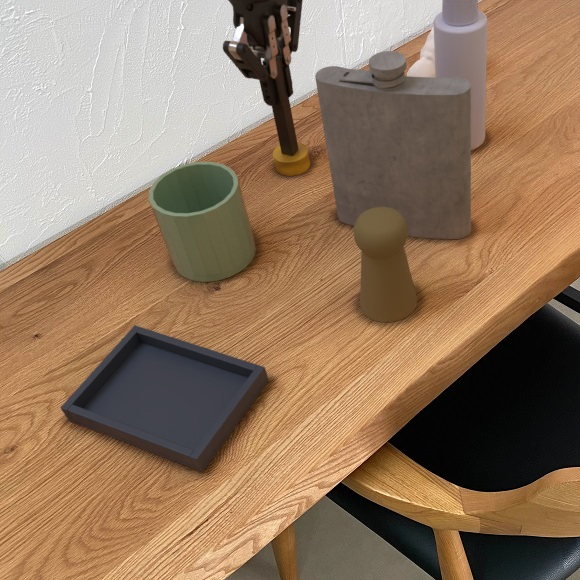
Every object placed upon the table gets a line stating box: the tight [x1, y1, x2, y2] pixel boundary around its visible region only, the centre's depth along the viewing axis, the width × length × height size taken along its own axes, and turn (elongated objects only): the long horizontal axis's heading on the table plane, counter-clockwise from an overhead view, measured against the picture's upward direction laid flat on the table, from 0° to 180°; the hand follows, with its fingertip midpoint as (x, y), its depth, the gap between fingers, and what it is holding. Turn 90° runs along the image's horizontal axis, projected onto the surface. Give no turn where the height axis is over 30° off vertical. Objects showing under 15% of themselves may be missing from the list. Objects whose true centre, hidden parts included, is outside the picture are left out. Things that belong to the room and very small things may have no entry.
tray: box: [59, 325, 270, 473], centre depth 76 cm, size 16×12×2 cm
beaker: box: [148, 161, 257, 283], centre depth 87 cm, size 9×9×9 cm
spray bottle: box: [433, 0, 488, 151], centre depth 93 cm, size 6×6×22 cm
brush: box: [261, 56, 311, 177], centre depth 95 cm, size 4×4×14 cm
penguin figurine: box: [406, 25, 436, 78], centre depth 107 cm, size 6×8×12 cm
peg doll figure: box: [353, 207, 418, 323], centre depth 79 cm, size 6×6×11 cm
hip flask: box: [314, 50, 472, 240], centre depth 84 cm, size 16×4×20 cm, turn 73°
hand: (279, 99), depth 93 cm, fingers closed on brush
